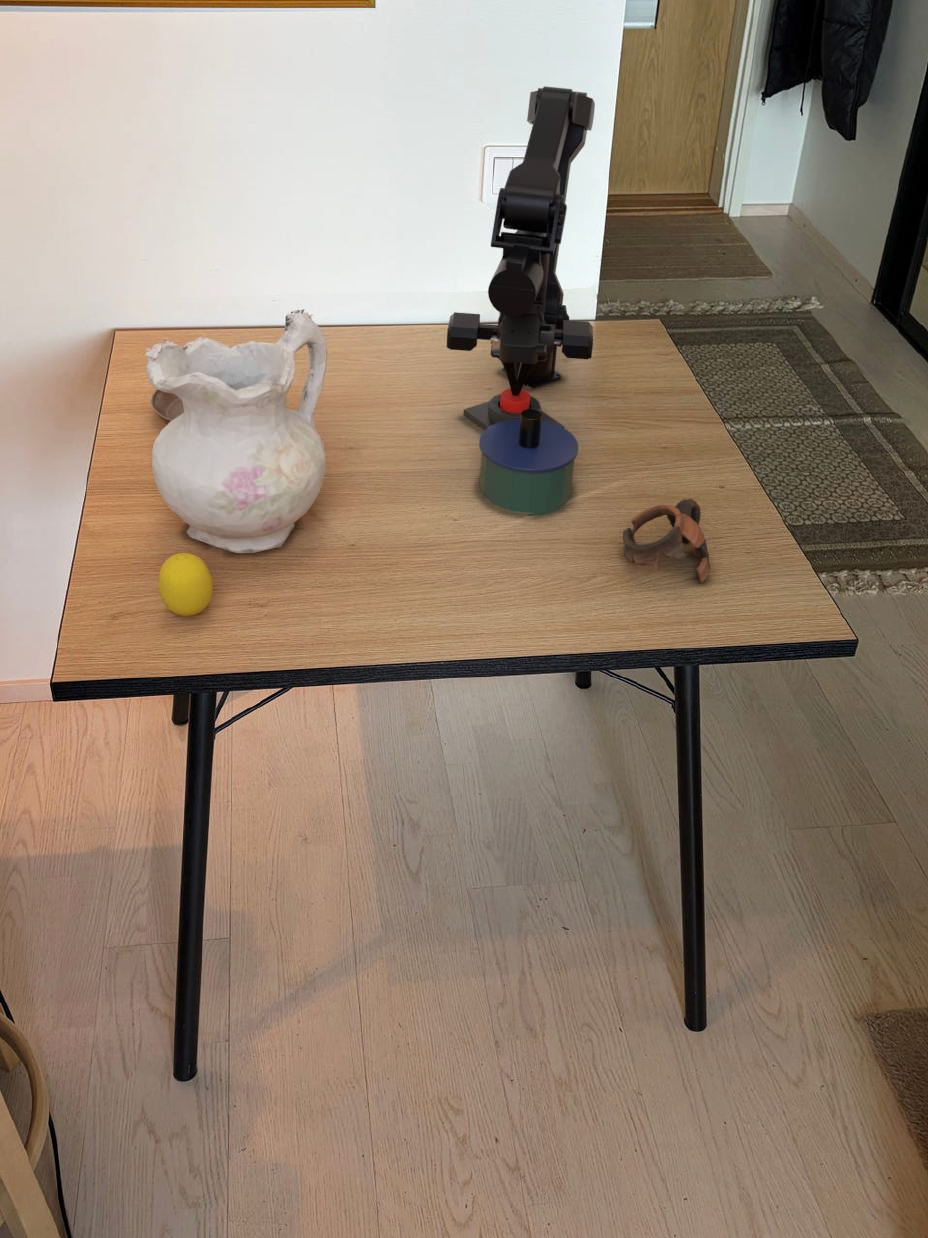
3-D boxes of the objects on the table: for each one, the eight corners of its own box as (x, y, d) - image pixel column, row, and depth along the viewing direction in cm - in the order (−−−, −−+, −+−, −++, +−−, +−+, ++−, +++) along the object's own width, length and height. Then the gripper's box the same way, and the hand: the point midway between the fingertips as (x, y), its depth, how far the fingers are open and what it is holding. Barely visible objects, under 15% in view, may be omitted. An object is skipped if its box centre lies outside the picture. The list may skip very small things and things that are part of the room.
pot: (532, 458, 154) (536, 415, 150) (588, 498, 147) (594, 454, 143) (462, 483, 148) (464, 439, 144) (517, 526, 141) (521, 481, 137)
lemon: (171, 636, 123) (162, 575, 118) (157, 606, 126) (147, 546, 121) (222, 622, 125) (215, 562, 120) (206, 593, 128) (199, 534, 123)
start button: (517, 397, 160) (518, 385, 159) (535, 409, 158) (536, 397, 156) (494, 404, 158) (494, 392, 157) (512, 417, 156) (512, 405, 155)
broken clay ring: (703, 602, 132) (676, 550, 127) (630, 604, 138) (602, 555, 133) (734, 528, 138) (709, 476, 133) (663, 533, 144) (637, 483, 139)
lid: (536, 417, 150) (539, 381, 147) (598, 459, 143) (602, 422, 140) (459, 442, 145) (460, 406, 141) (519, 487, 137) (522, 450, 134)
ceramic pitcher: (261, 467, 151) (234, 279, 136) (378, 510, 142) (362, 313, 127) (134, 543, 137) (88, 343, 122) (255, 596, 128) (221, 387, 113)
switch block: (514, 402, 165) (516, 379, 163) (563, 435, 159) (566, 413, 156) (462, 418, 161) (464, 396, 159) (511, 454, 154) (513, 430, 152)
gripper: (444, 304, 141) (441, 418, 151) (599, 315, 140) (585, 429, 150) (452, 268, 149) (448, 378, 159) (598, 278, 149) (584, 388, 159)
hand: (515, 394), depth 157 cm, fingers closed
